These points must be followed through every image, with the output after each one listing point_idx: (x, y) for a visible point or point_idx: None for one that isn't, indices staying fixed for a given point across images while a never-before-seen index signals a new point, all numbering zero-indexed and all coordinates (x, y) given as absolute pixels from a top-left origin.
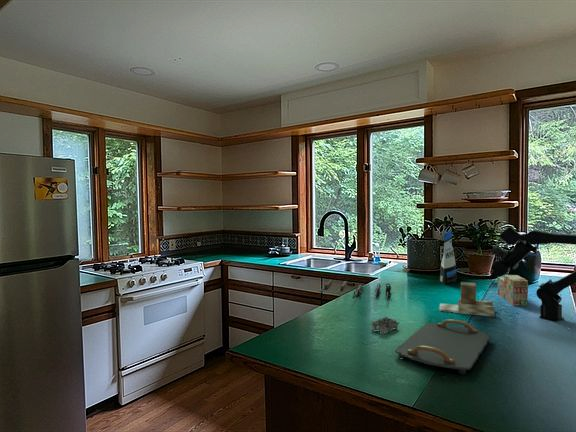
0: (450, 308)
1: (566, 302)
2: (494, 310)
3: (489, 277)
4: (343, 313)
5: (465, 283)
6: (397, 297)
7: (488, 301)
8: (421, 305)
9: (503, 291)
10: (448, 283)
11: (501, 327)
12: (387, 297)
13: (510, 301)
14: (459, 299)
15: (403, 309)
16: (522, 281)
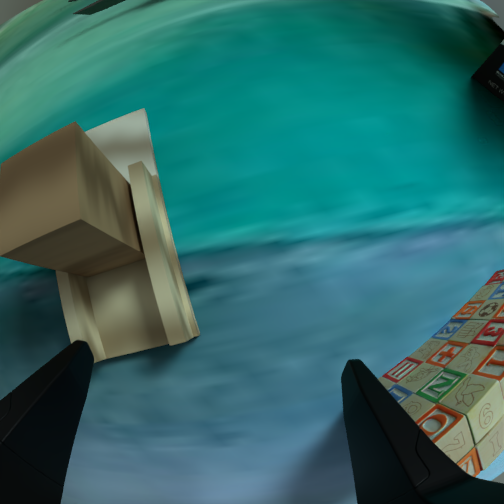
0: None
1: None
2: None
3: (70, 348)
4: (10, 38)
5: (40, 166)
6: (188, 2)
7: (171, 320)
8: (117, 74)
9: (476, 315)
10: (488, 88)
11: (8, 386)
12: (100, 7)
13: (392, 375)
14: (129, 170)
15: (56, 71)
16: None
